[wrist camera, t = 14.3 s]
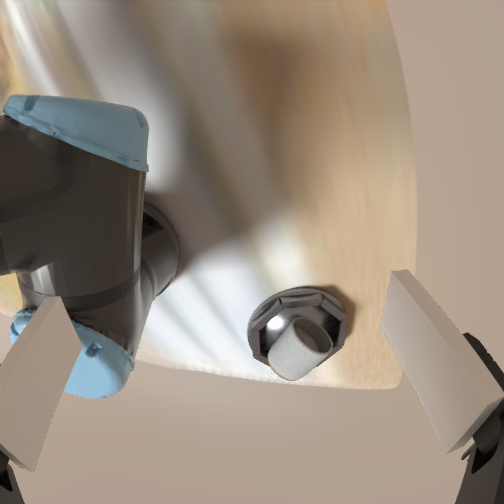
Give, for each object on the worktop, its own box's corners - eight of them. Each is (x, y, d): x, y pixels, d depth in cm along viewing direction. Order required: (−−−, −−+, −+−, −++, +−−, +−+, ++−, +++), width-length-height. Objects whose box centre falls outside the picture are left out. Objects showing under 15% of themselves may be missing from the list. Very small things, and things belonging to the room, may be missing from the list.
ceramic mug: (261, 345, 49) (267, 380, 42) (288, 310, 46) (298, 345, 39) (313, 360, 52) (323, 393, 45) (340, 328, 49) (354, 361, 42)
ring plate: (250, 366, 53) (251, 377, 51) (243, 292, 45) (244, 302, 43) (339, 356, 53) (342, 365, 51) (351, 282, 46) (356, 291, 44)
